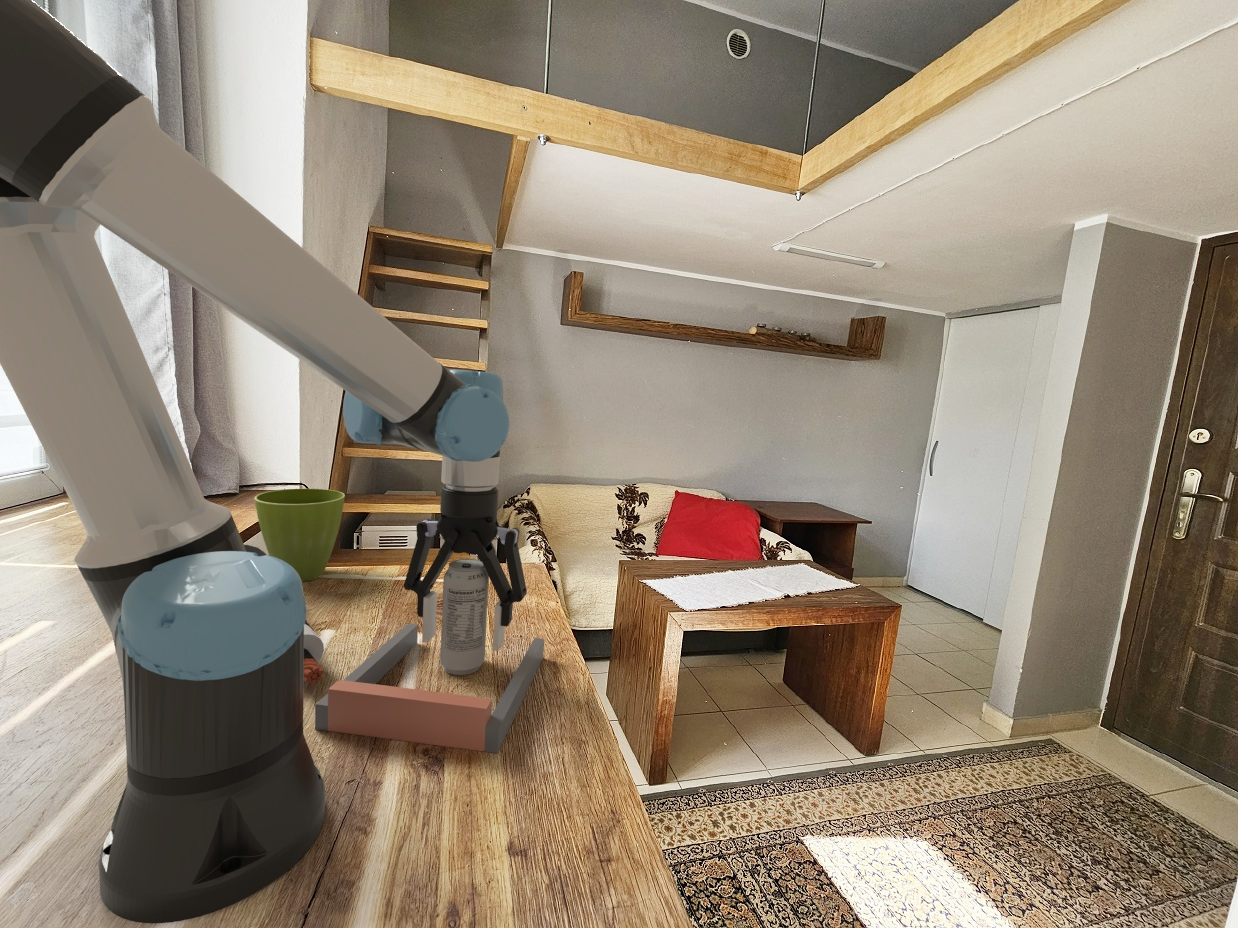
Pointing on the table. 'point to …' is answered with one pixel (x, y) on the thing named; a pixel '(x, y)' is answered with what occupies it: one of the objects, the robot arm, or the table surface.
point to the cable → (305, 643)
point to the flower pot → (300, 527)
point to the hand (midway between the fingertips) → (463, 642)
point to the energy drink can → (464, 616)
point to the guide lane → (421, 703)
